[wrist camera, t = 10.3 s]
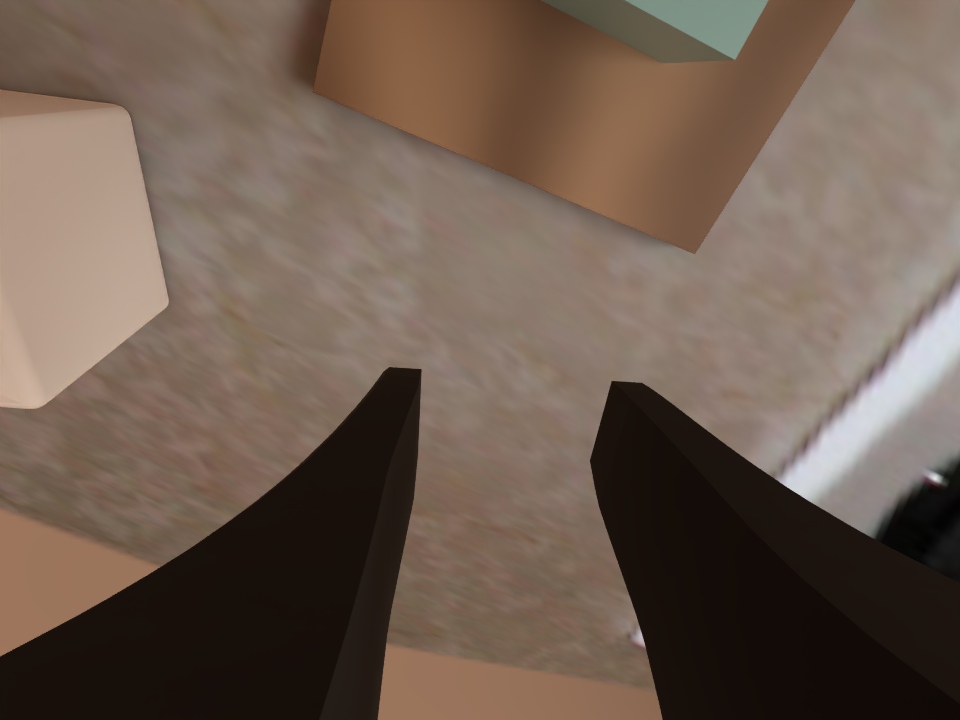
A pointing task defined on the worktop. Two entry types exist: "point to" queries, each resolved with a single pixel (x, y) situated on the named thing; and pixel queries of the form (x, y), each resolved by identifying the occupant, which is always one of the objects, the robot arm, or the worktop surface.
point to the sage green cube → (671, 25)
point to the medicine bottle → (69, 242)
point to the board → (576, 99)
